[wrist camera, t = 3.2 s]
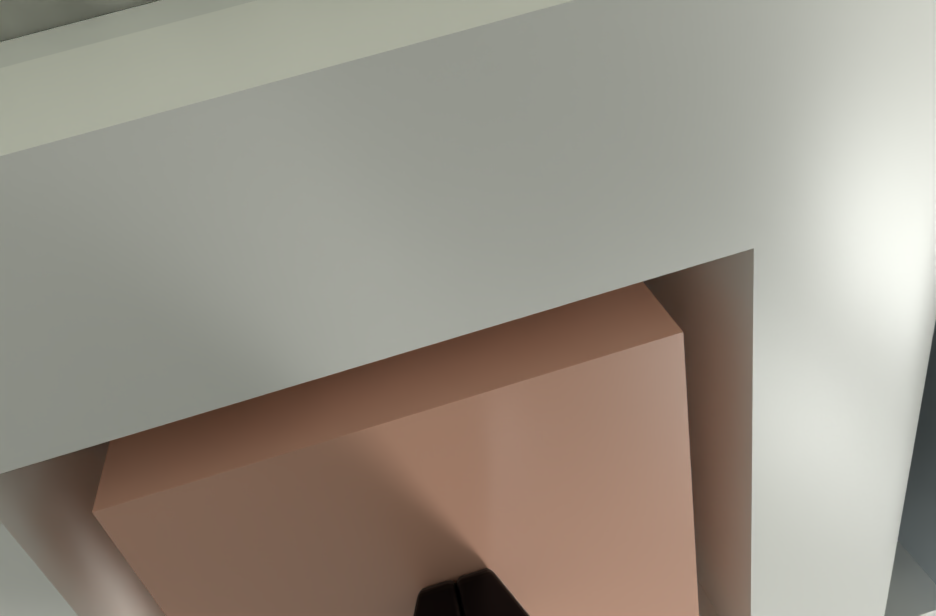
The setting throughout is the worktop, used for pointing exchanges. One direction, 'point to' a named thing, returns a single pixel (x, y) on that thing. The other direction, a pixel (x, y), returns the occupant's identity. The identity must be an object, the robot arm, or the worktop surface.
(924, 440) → the slate key
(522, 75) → the keypad
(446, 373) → the terracotta key
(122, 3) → the worktop surface
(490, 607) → the robot arm
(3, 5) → the worktop surface
